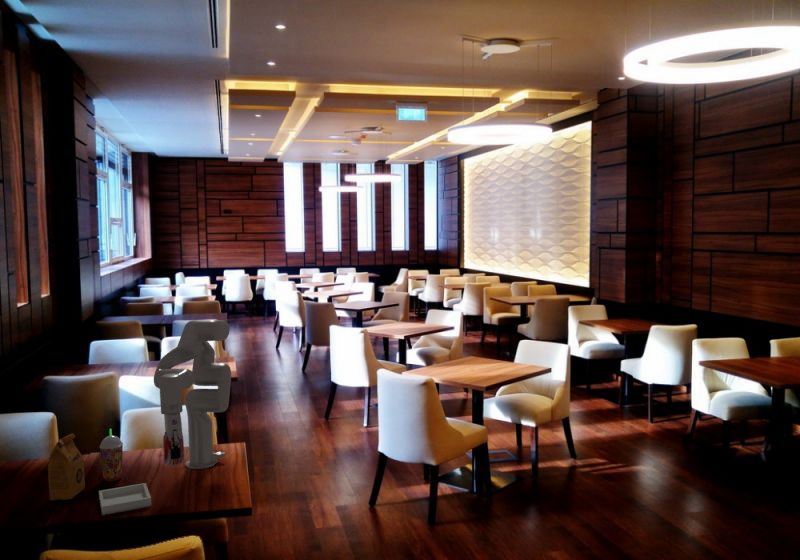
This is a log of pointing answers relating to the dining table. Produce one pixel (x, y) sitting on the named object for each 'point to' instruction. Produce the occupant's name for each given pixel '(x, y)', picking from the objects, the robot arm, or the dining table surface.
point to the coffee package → (65, 470)
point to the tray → (124, 498)
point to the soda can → (168, 452)
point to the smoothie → (111, 457)
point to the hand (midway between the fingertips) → (174, 454)
